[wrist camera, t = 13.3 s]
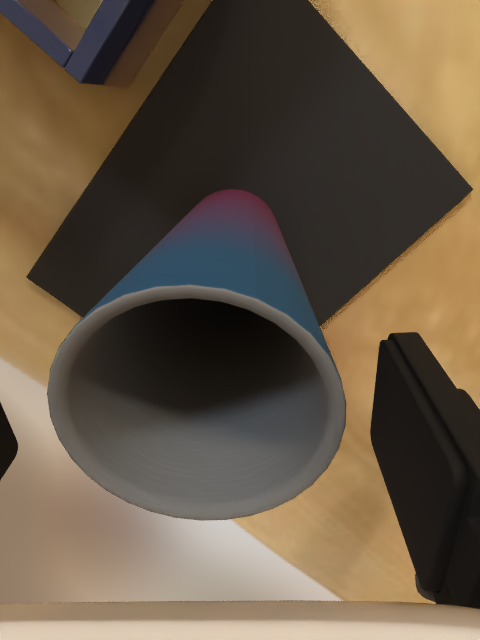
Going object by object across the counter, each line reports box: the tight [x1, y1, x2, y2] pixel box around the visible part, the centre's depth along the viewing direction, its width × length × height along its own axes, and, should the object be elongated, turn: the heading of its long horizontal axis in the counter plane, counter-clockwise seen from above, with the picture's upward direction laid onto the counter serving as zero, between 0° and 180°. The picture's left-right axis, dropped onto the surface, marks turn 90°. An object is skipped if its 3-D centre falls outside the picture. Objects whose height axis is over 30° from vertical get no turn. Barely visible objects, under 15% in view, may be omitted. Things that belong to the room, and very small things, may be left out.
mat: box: [26, 0, 473, 326], centre depth 23 cm, size 15×20×1 cm
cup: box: [47, 189, 346, 520], centre depth 16 cm, size 7×7×15 cm
